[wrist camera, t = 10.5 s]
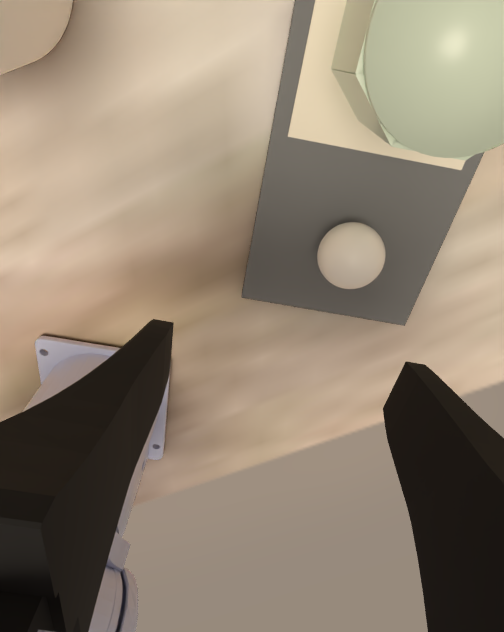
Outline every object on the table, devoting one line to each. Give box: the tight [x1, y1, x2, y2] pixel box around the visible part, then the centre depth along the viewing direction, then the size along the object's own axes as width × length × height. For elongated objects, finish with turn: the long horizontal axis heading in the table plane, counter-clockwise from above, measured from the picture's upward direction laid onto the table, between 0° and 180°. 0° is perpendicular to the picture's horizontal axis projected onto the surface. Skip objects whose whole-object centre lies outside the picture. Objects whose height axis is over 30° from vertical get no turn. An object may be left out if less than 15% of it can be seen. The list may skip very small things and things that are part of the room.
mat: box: [242, 0, 484, 326], centre depth 18 cm, size 16×9×1 cm, turn 170°
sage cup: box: [331, 0, 504, 160], centre depth 13 cm, size 5×5×6 cm
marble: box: [317, 222, 385, 289], centre depth 18 cm, size 3×3×3 cm
